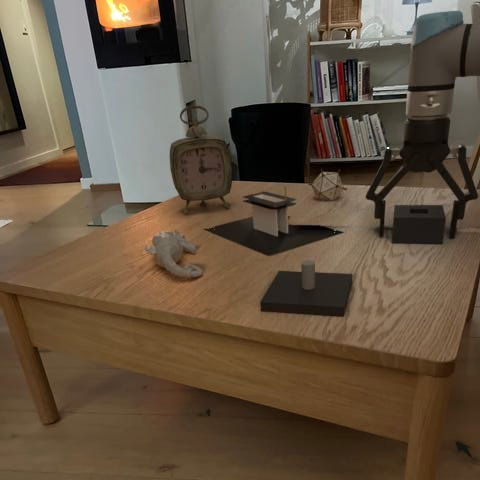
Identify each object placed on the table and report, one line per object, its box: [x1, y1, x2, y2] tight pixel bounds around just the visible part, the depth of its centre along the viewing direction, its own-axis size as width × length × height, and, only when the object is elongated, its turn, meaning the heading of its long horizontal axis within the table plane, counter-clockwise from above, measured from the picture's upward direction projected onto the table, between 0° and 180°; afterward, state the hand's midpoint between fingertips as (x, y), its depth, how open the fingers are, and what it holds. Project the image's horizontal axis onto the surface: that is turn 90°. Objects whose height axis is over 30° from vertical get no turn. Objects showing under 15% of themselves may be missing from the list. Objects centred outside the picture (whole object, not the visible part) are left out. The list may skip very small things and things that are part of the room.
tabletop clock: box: [169, 104, 233, 216], centre depth 119 cm, size 14×9×25 cm, turn 104°
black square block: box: [391, 204, 447, 245], centre depth 92 cm, size 9×9×5 cm
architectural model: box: [203, 186, 345, 257], centre depth 101 cm, size 20×25×10 cm
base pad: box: [259, 259, 353, 317], centre depth 72 cm, size 12×12×6 cm
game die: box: [307, 169, 348, 201], centre depth 119 cm, size 9×8×10 cm
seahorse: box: [144, 228, 204, 279], centre depth 89 cm, size 5×12×20 cm
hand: (415, 235), depth 93 cm, fingers open, 12 cm apart
